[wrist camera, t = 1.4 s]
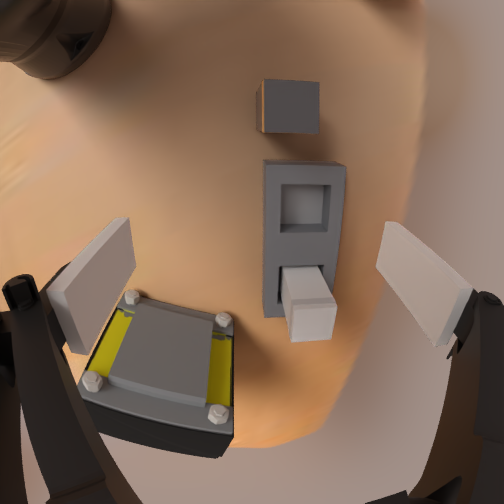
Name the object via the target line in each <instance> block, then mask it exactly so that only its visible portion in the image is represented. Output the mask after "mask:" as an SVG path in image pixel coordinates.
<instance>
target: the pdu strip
mask: <svg viewBox="0 0 504 504" xmlns="http://www.w3.org/2000/svg"><path fill="white" fill-rule="evenodd" d="M345 180H346V167H345V166H343V165H341V164H339V163H337V162H332V161H307V160H263V281H262V302H263V310H264V318H269V317H286V316H285V312H284V307H283V303H282V298H281V294H280V289H279V281H280V266H297V265H317V266H318V268H319V270H320V272H321V274H322V276H323V278H324V280H325V282H326V284H327V286H328V288H329V290H330V292H331V294H332V292H333V286H334V279H335V272H336V265H337V258H338V250H339V242H340V233H341V224H342V215H343V204H344V193H345Z"/></svg>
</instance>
